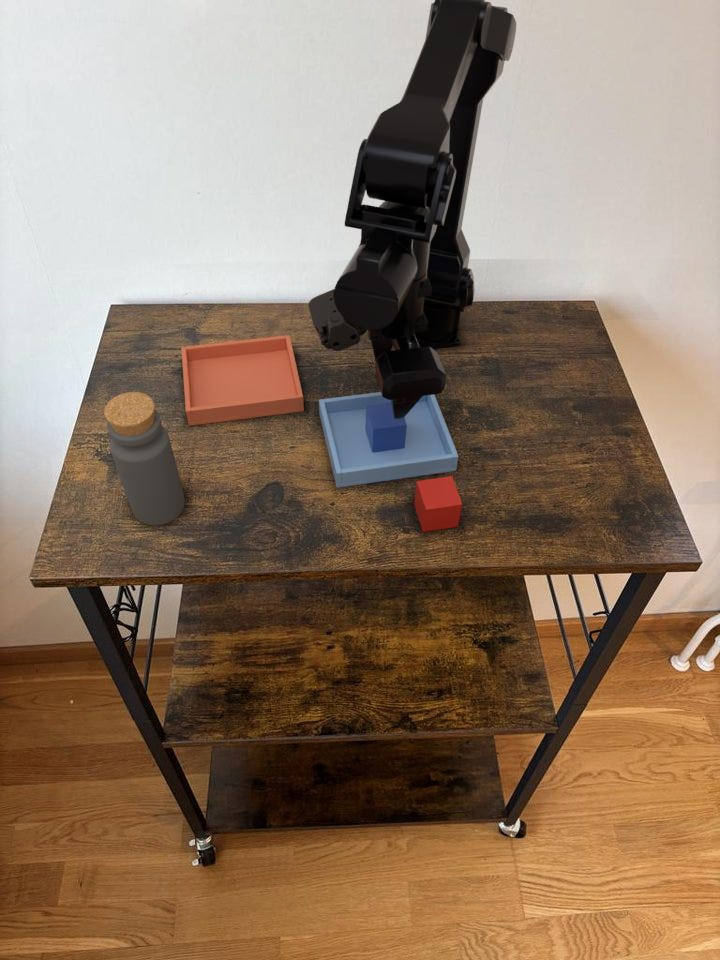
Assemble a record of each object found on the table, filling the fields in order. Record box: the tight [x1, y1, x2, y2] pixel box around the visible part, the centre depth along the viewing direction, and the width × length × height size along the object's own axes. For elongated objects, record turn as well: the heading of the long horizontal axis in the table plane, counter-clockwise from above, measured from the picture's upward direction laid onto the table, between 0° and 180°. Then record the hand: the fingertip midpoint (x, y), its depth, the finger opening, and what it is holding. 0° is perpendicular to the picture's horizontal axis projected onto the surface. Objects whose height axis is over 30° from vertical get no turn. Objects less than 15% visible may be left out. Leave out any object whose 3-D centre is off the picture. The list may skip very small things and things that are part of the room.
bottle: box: [103, 391, 186, 527], centre depth 76 cm, size 6×6×15 cm
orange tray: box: [181, 334, 305, 427], centre depth 93 cm, size 14×12×2 cm
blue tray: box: [318, 391, 459, 488], centre depth 87 cm, size 14×12×2 cm
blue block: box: [365, 402, 407, 453], centre depth 87 cm, size 4×4×4 cm
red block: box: [413, 475, 463, 533], centre depth 80 cm, size 4×4×4 cm
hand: (389, 389), depth 82 cm, fingers open, 9 cm apart
